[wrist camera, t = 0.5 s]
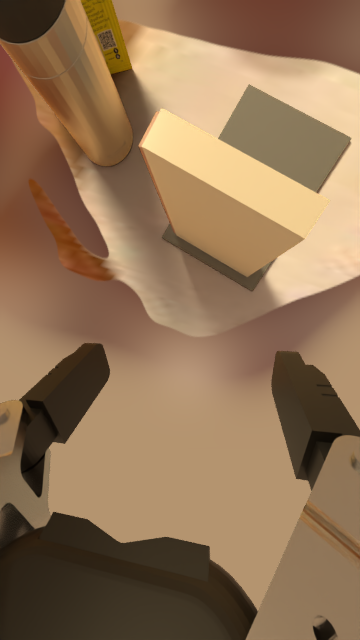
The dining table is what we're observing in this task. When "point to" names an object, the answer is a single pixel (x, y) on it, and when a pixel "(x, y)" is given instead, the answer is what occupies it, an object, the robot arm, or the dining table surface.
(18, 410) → the robot arm
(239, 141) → the mat
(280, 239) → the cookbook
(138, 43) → the dining table surface
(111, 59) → the food package
